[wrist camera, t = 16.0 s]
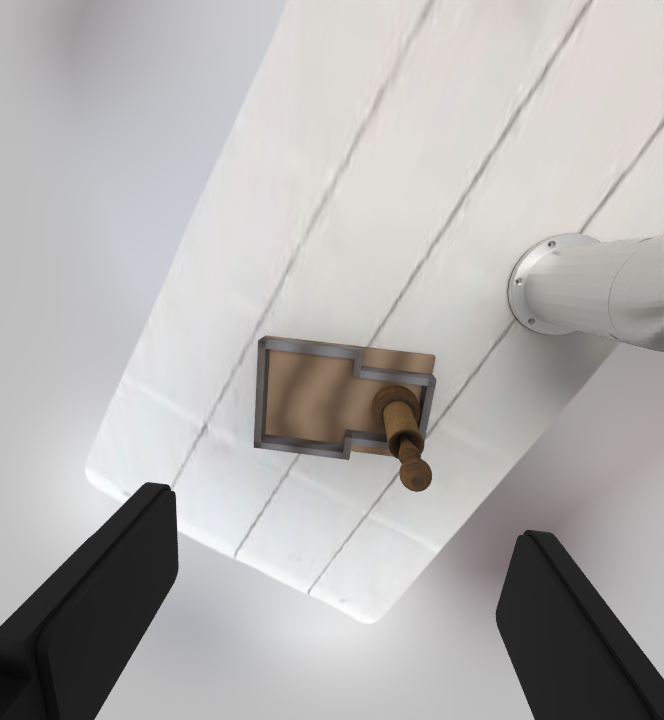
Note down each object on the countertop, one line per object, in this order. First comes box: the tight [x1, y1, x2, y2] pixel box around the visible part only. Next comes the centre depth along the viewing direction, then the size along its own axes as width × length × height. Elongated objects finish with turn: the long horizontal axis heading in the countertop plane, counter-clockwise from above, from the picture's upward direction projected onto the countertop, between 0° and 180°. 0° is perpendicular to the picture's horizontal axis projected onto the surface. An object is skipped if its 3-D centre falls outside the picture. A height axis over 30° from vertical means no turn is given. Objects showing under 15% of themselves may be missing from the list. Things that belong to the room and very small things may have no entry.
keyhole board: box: [254, 336, 436, 460], centre depth 47 cm, size 24×16×4 cm, turn 84°
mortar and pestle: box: [372, 385, 432, 492], centre depth 39 cm, size 7×6×18 cm
